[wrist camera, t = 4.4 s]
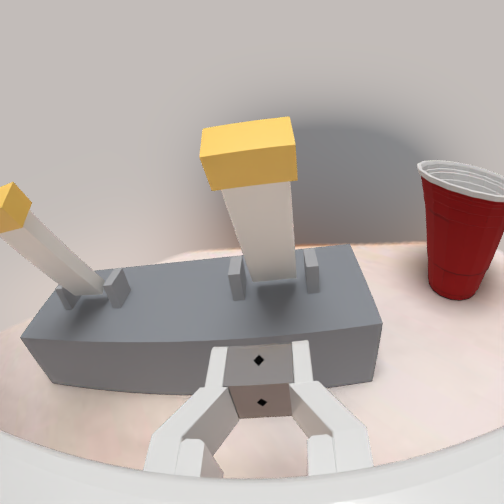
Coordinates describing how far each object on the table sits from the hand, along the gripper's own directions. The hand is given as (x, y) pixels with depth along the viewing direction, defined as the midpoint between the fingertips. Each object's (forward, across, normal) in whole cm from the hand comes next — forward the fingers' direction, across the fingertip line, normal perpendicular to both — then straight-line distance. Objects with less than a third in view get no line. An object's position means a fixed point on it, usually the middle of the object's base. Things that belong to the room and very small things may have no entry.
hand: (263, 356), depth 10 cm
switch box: (+12, +8, +12) cm, 18 cm away
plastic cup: (+17, -18, +12) cm, 28 cm away
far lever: (+12, +15, +5) cm, 20 cm away
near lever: (+12, 0, +5) cm, 13 cm away
